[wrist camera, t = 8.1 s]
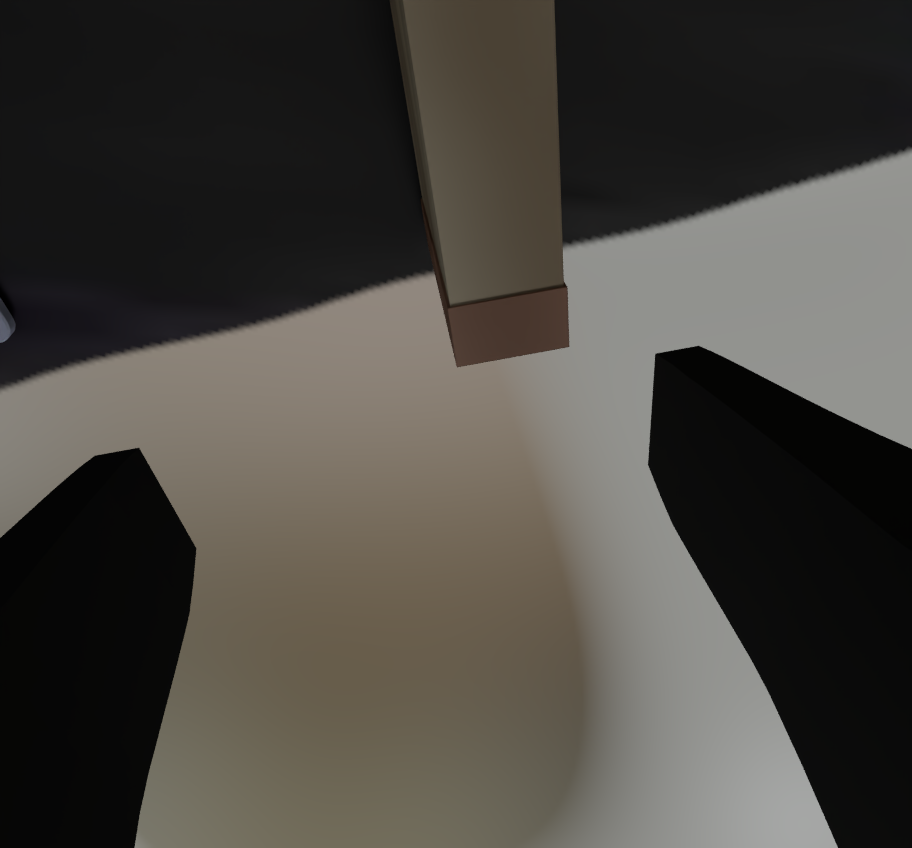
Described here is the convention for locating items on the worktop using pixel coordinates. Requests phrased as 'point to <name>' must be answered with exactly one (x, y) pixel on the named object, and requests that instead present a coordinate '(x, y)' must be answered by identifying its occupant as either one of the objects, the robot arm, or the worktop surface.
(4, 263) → the worktop surface
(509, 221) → the brown-tipped cream rod
